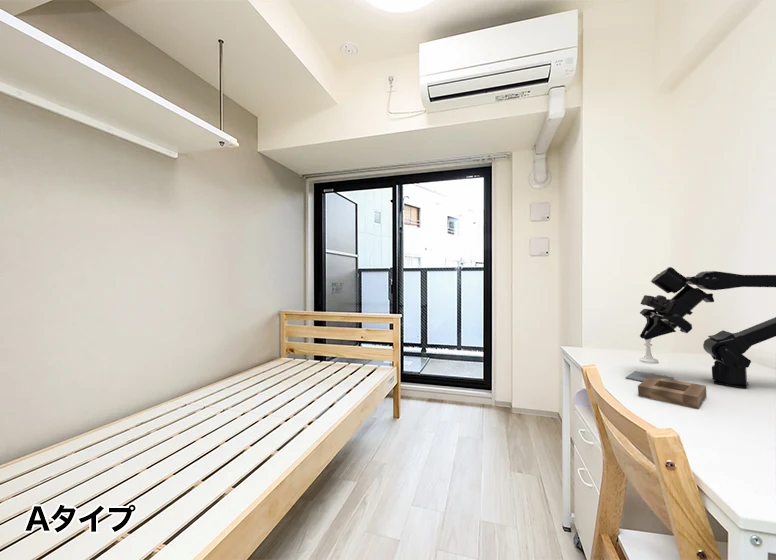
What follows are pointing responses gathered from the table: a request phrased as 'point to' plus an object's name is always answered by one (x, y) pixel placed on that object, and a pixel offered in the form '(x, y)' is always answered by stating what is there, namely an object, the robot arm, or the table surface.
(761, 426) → the table surface
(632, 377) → the slate mat
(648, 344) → the chess piece
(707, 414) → the table surface
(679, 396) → the socket block
